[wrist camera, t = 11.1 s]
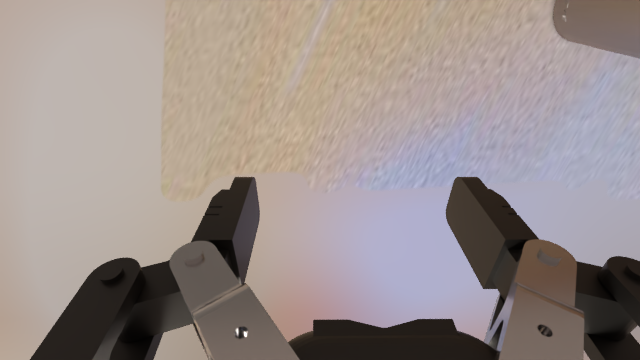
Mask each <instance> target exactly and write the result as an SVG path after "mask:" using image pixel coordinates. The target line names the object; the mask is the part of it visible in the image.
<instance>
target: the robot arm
mask: <svg viewBox="0 0 640 360" xmlns="http://www.w3.org/2000/svg"><path fill="white" fill-rule="evenodd" d="M553 20H554V26H555V28H556V30H557V32H558V33H559V34H560V36H561V37H562V38H564V39H566V40H568V41H571V42H575V43H579V44H583V45H587V46H591V47H595V48H598V49H603V50H607V51H611V52H615V53H619V54H623V55H627V56H631V57H635V58H640V0H556V2H555V6H554V12H553ZM259 212H260V211H259V202H258V195H257V187H256V181H255V178H254V177H235V178H234V180H233V183H232V185H231V188H230V190H221V191H220V192H218V193H217V194H216V195H215V196H214V197H213V198H212V200H211V202H210V204H209V206H208V208H207V210H206V212H205V216H203V218H202V221H201V223H200V225H199V227H198V229H197V231H196V233H195V235H194V237H193V239H192V241H191V243H188V244H185V245H184V246H182V247H180V248H179V249H178V250H176V251H175V252H174V253H173V255H172V257H171V259H170V260H169V261H166V262H162V263H158V264H154V265H150V266H146V267H142V268H141V267H140V265H139V263H138V262H137V261H136V260H135V259H132V258H119V259H114V260H111V261H109V262H106V263H104V264H102V265H101V266H99V267H98V268H96V269H95V270H94V271H93V272H92V273H91V274H90V275H89V276H88V277H87V279H86V280H85V282H84V283H83V285H82V286H81V287H80V289H79V290H78V292H77V293H76V295H75V296H74V297H73V299H72V300H71V302H70V303H69V305H68V306H67V307H66V309H65V310H64V312H63V313H62V315H61V316H60V317H59V319H58V320H57V322H56V323H55V325H54V326H53V327H52V329H51V330H50V332H49V333H48V335H47V336H46V338H45V339H44V340H43V342H42V343H41V345H40V346H39V347H38V349H37V350H36V352H35V353H34V355H33V356H32V357H31V359H30V360H153V359H154V356H155V354H156V351H157V348H158V346H159V343H160V340H161V338H162V335H163V333H164V332H167V331H170V330H173V329H176V328H180V327H183V326H186V325H190V324H192V325H193V327H194V329H195V331H196V333H197V336H198V338H199V340H200V342H201V345H202V347H203V349H204V351H205V354H206V356H207V358H208V360H583V350H584V351H585V352H586V354H587V355H588V357H589V358H590V360H640V344H639V343H638V342H637V341H636V340H635V338H634V337H633V336H632V335H631V333H630V332H631V331H632V330H633V329H634V328H635V327H636V326H637V325H638V326H639V327H640V261H637V260H634V259H631V258H627V257H621V256H616V257H611V258H609V259H608V260H607V262H606V263H605V265H604V266H603V267H600V266H595V265H591V264H586V263H582V262H577V261H576V260H575V259H574V257H573V256H572V255H571V254H570V253H569V252H568V251H567V250H565V249H564V248H562V247H561V246H559V245H557V244H554V243H552V242H549V241H545V240H539V239H538V237H537V236H536V235H535V234H534V233H533V232H532V230H531V229H530V228H529V227H528V226H527V224H526V223H525V222H524V221H523V220H522V219H521V217H520V216H519V215H517V213H516V212H515V210H514V209H513V208H511V206H510V205H509V204H508V202H507V201H506V200H505V199H504V198H503V197H502V196H501V195H499V194H497V193H496V192H494V191H493V190H491V189H488V188H487V187H486V186H485V185H484V184H483V182H482V181H481V180H480V179H479V178H478V177H457V178H456V179H455V180H454V183H453V187H452V190H451V193H450V197H449V200H448V204H447V208H446V219H447V222H448V224H449V226H450V228H451V230H452V232H453V233H454V235H455V237H456V239H457V241H458V243H459V245H460V246H461V248H462V250H463V252H464V254H465V256H466V257H467V259H468V261H469V263H470V265H471V267H472V268H473V271H474V272H475V274H476V276H477V278H478V280H479V282H480V284H481V285H482V287H483V289H498V291H499V292H500V294H499V296H498V298H497V300H496V304H495V307H494V310H493V314H492V317H491V320H490V323H489V327H488V330H487V333H486V336H485V339H484V342H483V341H481V340H479V339H477V338H475V337H473V336H471V335H468V334H466V333H462V332H459V331H457V330H456V327H455V325H454V322H453V320H452V319H417V320H414V321H410V322H407V323H403V324H400V325H395V326H392V327H388V328H381V327H376V326H372V325H368V324H364V323H360V322H355V321H351V320H314V321H313V331H311V332H307V333H305V334H302V335H300V336H298V337H296V338H294V339H292V340H291V341H289V342H287V341H286V339H285V338H284V336H283V335H282V334H281V332H280V331H279V329H278V328H277V326H276V325H275V323H274V322H273V320H272V319H271V317H270V316H269V315H268V313H267V312H266V310H265V309H264V307H263V306H262V305H261V303H260V302H259V300H258V299H257V297H256V296H255V294H254V293H253V291H252V290H251V289H250V287H249V286H248V285H247V284H246V283H244V282H245V278H246V274H247V270H248V265H249V261H250V257H251V253H252V248H253V244H254V240H255V236H256V232H257V228H258V224H259V215H260V213H259Z"/></svg>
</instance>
